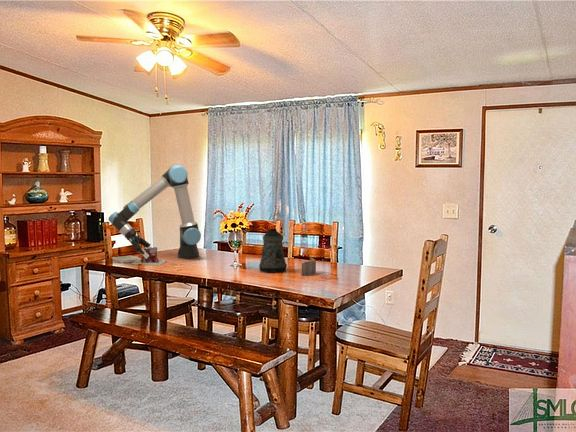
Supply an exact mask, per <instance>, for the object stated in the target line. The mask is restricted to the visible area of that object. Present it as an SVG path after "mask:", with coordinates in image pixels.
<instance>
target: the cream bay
mask: <svg viewBox="0 0 576 432" xmlns="http://www.w3.org/2000/svg"><path fill="white" fill-rule="evenodd" d="M111 259H112V261H116V262H119V263H122V264H125V263H124V262H126V263H132V262H131V261H137V260H141V259H142V257H141V258H140V257H138V256H134V255H123V256H113V257H112V258H111Z"/></svg>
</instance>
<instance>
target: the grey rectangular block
mask: <svg viewBox="0 0 576 432" xmlns="http://www.w3.org/2000/svg"><path fill="white" fill-rule="evenodd" d="M316 273H317V261H316V259H315V258H313V256H310V257H309V260H308V261H305V262H301V276H304V277H306V276H310V275H313V274H316Z"/></svg>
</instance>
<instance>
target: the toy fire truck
mask: <svg viewBox="0 0 576 432" xmlns="http://www.w3.org/2000/svg"><path fill="white" fill-rule="evenodd" d="M144 251H145V252H146V253H147V254H148V255H149V257H148V258H147V259H146V258H145V257H144V256H143V255H142V254H141V262H140V263H159V262H158V261H159V260H160V259H159V258H158V253H157V252H158V247H156V246H155V247H152V248H149V249H148V248H146V247H145V250H144Z"/></svg>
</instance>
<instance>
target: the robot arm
mask: <svg viewBox="0 0 576 432" xmlns="http://www.w3.org/2000/svg"><path fill="white" fill-rule="evenodd" d="M188 175H189V174H188V170H187V168H185V167H184V166H182V165H179V164H175V165H172V166H170V167H169V168H168V170H167V171H165V172H164V173H163V174H162V175H161V178H159V179H158V180H157V181H155V182H154V183H153V184H152V185H150V186H149V187H148V188H146V189H145V190H144V191H143V192H141V193H140V194H139V195H137V196H136V197H135V198H132V200H131V201H130V202H128V203H127V204H126V203H125V205H123V209H121V210H120V211H119V212H117V211H114V212H113V213H111V214H110V215H109V216H108V221H109V222H110V223H111V225H112V226H113V227H114V228H115V229H116V230H118V232H120V235H122V236H124V238H125V240H127V241H129V243H130V244H131V245H132V247H133V248H134V251H136V252H137V253H140V254H141V256H142V255H143V256H144V257H145V258H146V259H147V258H148V257H149V255H148V254H147V253H146V252H145V250H144V248H142V247H141V246H143V247H145V249H146V248H148V249H149V248H153V247H151V243H149V242H148V241H146V240H145V239H144V238H143V237H142V236H140V235H137V234H138V232H137V231H136V230H135V229H134V228H133V226H131V225H130V224H129V222H128V221H130V219H132V218H133V217H134V216H135V215H136V214H138V212H139V211H140V210H141V208H143V207H144V206H145V205H146V204H148V203H149V202H150V201H153V199H154V198H156V197H157V196H158V195H159V194H161V193H162V192H164V191H165V190H166V189H168V188H169V187H170V188H171V189H173V190H174V193H175V200H176V204H177V207H178V208H177V209H178V212H179V216H180V222H181V224H180V225H179V248H178V250H177V258H179V259H193V258H194V259H195V258H199V257H200V252H199V249H198V243H199V242H200V241H201V238H202V233H201V231H200V229H199V224H198V222H196V221H195V217H194V212H193V208H192V204H191V203H192V202H191V198H190V194H189V190H188V186H189V184H190V183H189V180H188Z"/></svg>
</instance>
